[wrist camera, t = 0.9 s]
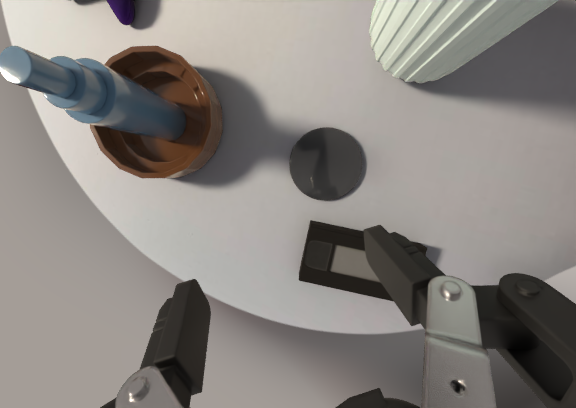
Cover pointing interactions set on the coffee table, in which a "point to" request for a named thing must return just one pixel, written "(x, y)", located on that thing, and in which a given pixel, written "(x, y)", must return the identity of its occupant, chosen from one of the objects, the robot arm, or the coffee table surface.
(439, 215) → the coffee table surface
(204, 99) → the bowl
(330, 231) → the vhs tape
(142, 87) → the bottle
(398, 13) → the vase
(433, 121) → the coffee table surface
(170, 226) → the coffee table surface
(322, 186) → the coaster
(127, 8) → the gaming controller
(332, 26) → the coffee table surface
